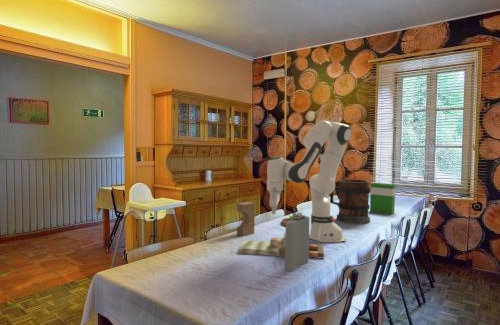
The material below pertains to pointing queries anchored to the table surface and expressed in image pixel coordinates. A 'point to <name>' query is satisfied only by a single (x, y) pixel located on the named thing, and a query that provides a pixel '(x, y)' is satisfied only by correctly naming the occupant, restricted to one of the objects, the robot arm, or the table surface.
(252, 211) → the decorative block
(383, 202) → the hardback book
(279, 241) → the birch bar
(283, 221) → the plant
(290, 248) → the flask
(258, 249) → the track deck
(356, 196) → the wooden tankard
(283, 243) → the tunnel
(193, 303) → the table surface
